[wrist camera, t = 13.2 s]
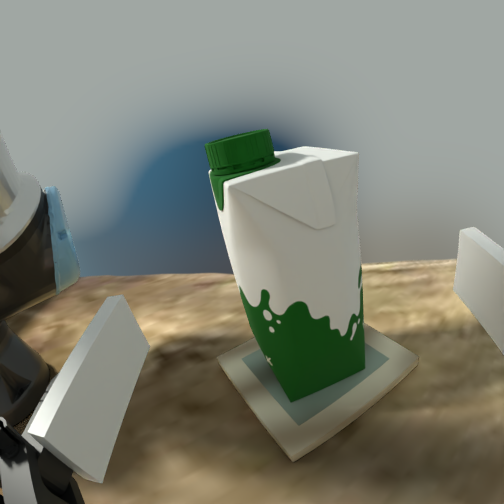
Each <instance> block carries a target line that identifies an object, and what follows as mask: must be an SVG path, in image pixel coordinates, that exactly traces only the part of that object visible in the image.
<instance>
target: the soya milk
mask: <svg viewBox="0 0 504 504" xmlns="http://www.w3.org/2000/svg"><path fill="white" fill-rule="evenodd" d="M205 150H206V153H207V157H208V161H209V165H210V168H211V170H209V177H210V181H211V185H212V190H213V194H214V198H215V203H216V207H217V211H218V216H219V220H220V224H221V228H222V232H223V236H224V239H225V243H226V247H227V251H228V255H229V258H230V261H231V265H232V268H233V272H234V275H235V278H236V282H237V285H238V288H239V292H240V295H241V298H242V301H243V305H244V308H245V311H246V314H247V318H248V321H249V324H250V327H251V329H252V332H253V334H254V336H255V339H256V341H257V343H258V345H259V347H260V349H261V351H262V353H263V355H264V357H265V359H266V360H267V362H268V364H269V366H270V368H271V369H272V371H273V373H274V375H275V376H276V378H277V380H278V382H279V383H280V385H281V387H282V388H283V390H284V392H285V394H286V395H287V397H288V399H289V400H290V402H291V403H292V402H294V401H296V400H299V399H301V398H304V397H306V396H308V395H311V394H313V393H315V392H318V391H320V390H322V389H324V388H327V387H329V386H331V385H333V384H335V383H337V382H339V381H341V380H344V379H346V378H348V377H350V376H352V375H354V374H356V373H358V372H360V371H362V370H364V369H365V336H364V315H363V288H362V268H361V253H360V241H359V230H358V218H357V189H358V161H359V153H357V152H349V151H342V150H334V149H325V148H317V147H306V146H304V147H299V148H295V149H291V150H287V151H282V152H274V149H273V145H272V140H271V136H270V132H269V130H268V129H263V130H256V131H251V132H247V133H242V134H238V135H234V136H230V137H226V138H223V139H219V140H215V141H212V142H209V143H207V144H205Z"/></svg>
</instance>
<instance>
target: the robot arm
mask: <svg viewBox="0 0 504 504" xmlns="http://www.w3.org/2000/svg"><path fill="white" fill-rule="evenodd" d="M79 276H80V266H79V261H78V258H77V254H76V250H75V247H74V244H73V240H72V236H71V233H70V229H69V226H68V222H67V218H66V215H65V211H64V208H63V204H62V200H61V197H60V194H59V191H58V189H57V188H56V187H55V186H52V187H46V188H44V190H43V191H42V189H41V187H40V185H39V183H38V181H37V179H36V178H35V177H34V176H33V175H31V174H29V173H26V172H18V171H17V169H16V167H15V165H14V163H13V160H12V158H11V156H10V153H9V151H8V149H7V146H6V144H5V142H4V139H3V137H2V134H1V131H0V488H2V490H3V496H2V495H0V504H85V503H84V500H83V498H82V495H81V492H80V490H79V487H78V484H77V482H76V480H75V479H74V478H73V477H72V473H73V471H74V472H76V473H77V474H78V475H80V476H81V477H83V478H84V479H87V480H90V481H94V482H98V483H103V479H104V476H105V473H106V469H107V466H108V463H109V460H110V457H111V454H112V451H113V447H114V444H115V441H116V438H117V435H118V432H119V430H120V427H121V424H122V421H123V418H124V415H125V412H126V409H127V407H128V404H129V401H130V398H131V396H132V393H133V390H134V387H135V385H136V382H137V379H138V377H139V374H140V371H141V369H142V366H143V364H144V361H145V358H146V356H147V353H148V351H149V348H150V345H149V344H148V342H147V340H146V338H145V336H144V334H143V333H142V331H141V329H140V327H139V325H138V323H137V321H136V319H135V317H134V316H133V314H132V312H131V310H130V308H129V306H128V304H127V302H126V300H125V298H124V296H123V295H116V296H110V297H107V299H106V300H105V302H104V303H103V305H102V306H101V308H100V309H99V311H98V312H97V314H96V315H95V317H94V318H93V320H92V321H91V323H90V324H89V326H88V327H87V329H86V330H85V332H84V333H83V335H82V337H81V338H80V340H79V341H78V343H77V344H76V346H75V348H74V349H73V351H72V353H71V354H70V356H69V358H68V359H67V361H66V362H65V364H64V366H63V368H62V369H61V371H60V372H59V373H58V374H57V375H56V376H55V377H54V378H53V379H52V380H51V382H50V384H49V385H48V382H49V376H50V372H49V368H48V366H47V364H46V363H45V361H44V360H43V359H42V357H41V356H40V355H39V353H38V352H36V351H35V350H33V349H32V348H31V347H30V346H29V345H28V344H27V343H25V342H24V341H23V340H22V339H21V338H19V337H18V336H17V335H16V334H15V333H14V332H12V331H11V329H10V328H9V327H8V325H7V323H6V322H5V319H7V318H9V317H11V316H13V315H15V314H17V313H19V312H21V311H23V310H25V309H27V308H30V307H32V306H34V305H36V304H38V303H40V302H42V301H44V300H46V299H48V298H50V297H52V296H54V295H58V294H59V293H60V291H62V290H64V289H66V288H67V287H69V286H71V285H73V284H74V283H75V282H76V281H77V280H78V278H79ZM453 290H454V292H455V293H456V294H457V295H458V296H459V298H460V299H461V300H462V301H463V302H464V304H465V305H466V306H467V307H468V309H469V310H470V311H471V312H472V314H473V315H474V316H475V317H476V319H477V320H478V321H479V322H480V324H481V325H482V326H483V328H484V329H485V330H486V332H487V333H488V334H489V336H490V337H491V338H492V340H493V341H494V342H495V344H496V345H497V347H498V348H499V349H500V351H501V352H502V354H503V355H504V249H503V248H502V247H500V246H499V245H498V244H497V243H495V242H494V241H493V240H491V239H490V238H489V237H487V236H486V235H485V234H483V233H482V232H481V231H479V230H478V229H476V228H475V227H471V228H467V229H462V230H460V235H459V247H458V257H457V265H456V273H455V280H454V287H453ZM47 386H48V387H47ZM45 391H46V393H45ZM40 400H41V402H40ZM37 404H38V405H37ZM36 406H37V407H36ZM35 407H36V409H35V411H34V413H33V415H32V417H31V418H30V420H29V422H28V424H27V426H26V428H25V430H24V432H23V434H22V435H20V434H19V433H18V432H17V431H16V430H15V429H14V428H13V427H12V426H14V425H16V424H17V423H19V422H20V421H22V420H23V419H24V418H25V417H27V416H28V415H29V414H30V413H31V412H32V411H33V409H34V408H35Z"/></svg>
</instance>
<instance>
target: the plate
mask: <svg viewBox="0 0 504 504" xmlns="http://www.w3.org/2000/svg"><path fill="white" fill-rule="evenodd" d="M364 336H365V369H364V370H362V371H360V372H358V373H356V374H354V375H352V376H350V377H348V378H346V379H344V380H341V381H339V382H337V383H335V384H333V385H331V386H329V387H327V388H324V389H322V390H320V391H318V392H315V393H313V394H311V395H308V396H306V397H304V398H301V399H299V400H296V401H294V402H292V403H291V402H290V400H289V399H288V397H287V395H286V394H285V392H284V390H283V388H282V387H281V385H280V383H279V382H278V380H277V378H276V376H275V375H274V373H273V371H272V369H271V368H270V366H269V364H268V362H267V360H266V359H265V357H264V355H263V353H262V351H261V349H260V347H259V345H258V343H257V341H256V339H255V337H254V338H252V339H250V340H248V341H247V342H245V343H243V344H241V345H239V346H237V347H235V348H233V349H231V350H229V351H227V352H225V353H223V354H221V355H219V356H217V357H216V358H217V360H218V363H219V365H220V366H221V368H222V369H223V371H224V372H225V374H226V375H227V376H228V378H229V379H230V381H231V382H232V384H233V385H234V386H235V388H236V389H237V391H238V392H239V393H240V395H241V396H242V398H243V399H244V400H245V402H246V403H247V404H248V406H249V407H250V408H251V410H252V411H253V412H254V414H255V415H256V416H257V418H258V419H259V420H260V422H261V423H262V424H263V426H264V427H265V428H266V430H267V431H268V432H269V433H270V435H271V436H272V437H273V438H274V440H275V441H276V442H277V444H278V445H279V446H280V447H281V448H282V450H283V451H284V452H285V453H286V455H287V456H288V457H289V458H290V459H291V461H292V462H295V461H296V460H298V459H299V458H301V457H303V456H304V455H306V454H307V453H309V452H310V451H312V450H313V449H315V448H316V447H318V446H319V445H321V444H322V443H324V442H325V441H327V440H328V439H330V438H331V437H332V436H334V435H335V434H337V433H338V432H339V431H341V430H342V429H343V428H345V427H346V426H348V425H349V424H350V423H351V422H353V421H354V420H355V419H357V418H358V417H359V416H360V415H362V414H363V413H364V412H365V411H367V410H368V409H369V408H370V407H372V406H373V405H374V404H375V403H376V402H378V401H379V400H380V399H381V398H382V397H383V396H385V395H386V394H387V393H388V392H389V391H390V390H391V389H393V388H394V387H395V386H396V385H397V384H398V383H399V382H400V381H401V380H402V379H403V378H405V377H406V376H407V375H408V374H409V373H410V372H411V371H412V370H413V369H414V368H415V367H416V366H417V365H418V360H419V356H417V355H416V354H414V353H413V352H411V351H409V350H408V349H406V348H404V347H403V346H401V345H399V344H398V343H396V342H395V341H393V340H391V339H390V338H388V337H386V336H385V335H383V334H381V333H380V332H378V331H377V330H375V329H373V328H372V327H370V326H368V325H367V324H365V323H364Z"/></svg>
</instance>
